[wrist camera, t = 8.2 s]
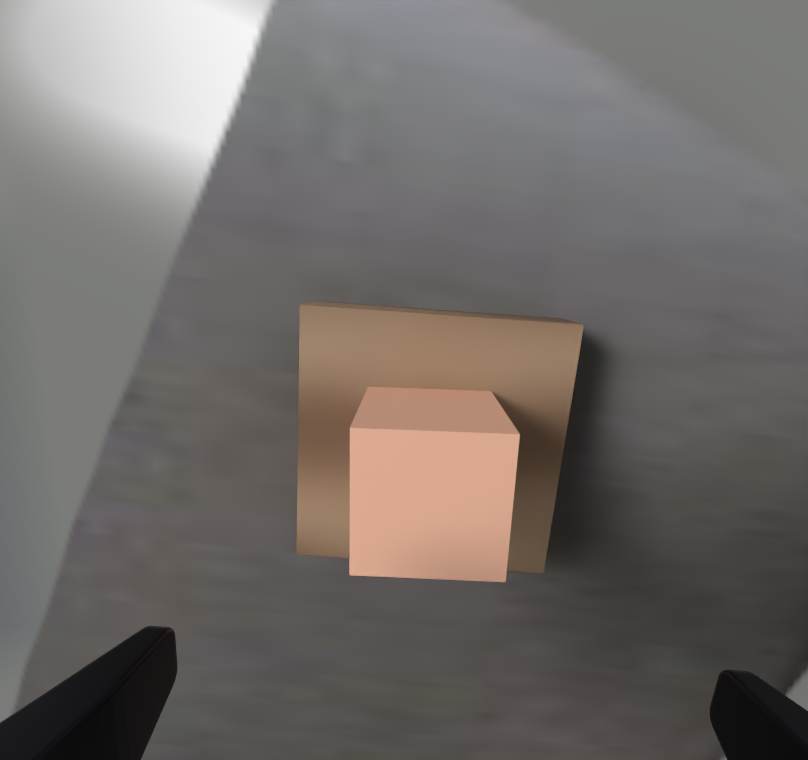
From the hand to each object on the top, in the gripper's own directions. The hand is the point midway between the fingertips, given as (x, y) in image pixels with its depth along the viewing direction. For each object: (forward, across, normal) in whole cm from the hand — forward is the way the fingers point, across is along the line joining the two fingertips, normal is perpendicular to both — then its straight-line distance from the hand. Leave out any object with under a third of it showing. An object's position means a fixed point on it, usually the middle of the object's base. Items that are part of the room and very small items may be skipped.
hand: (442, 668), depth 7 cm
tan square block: (+12, 0, 0) cm, 12 cm away
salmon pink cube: (+10, 0, 0) cm, 10 cm away
